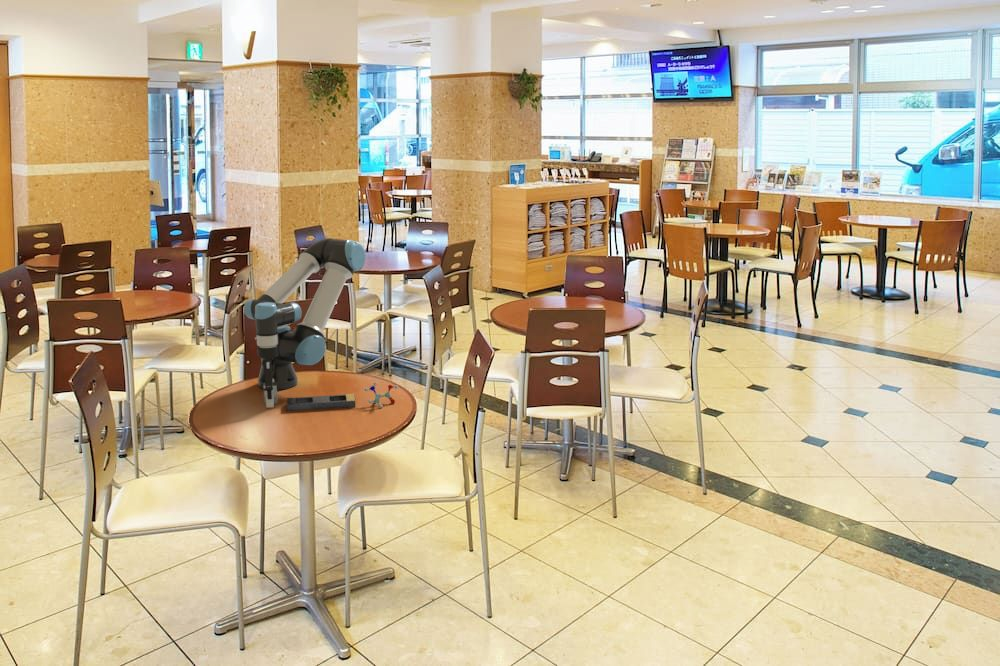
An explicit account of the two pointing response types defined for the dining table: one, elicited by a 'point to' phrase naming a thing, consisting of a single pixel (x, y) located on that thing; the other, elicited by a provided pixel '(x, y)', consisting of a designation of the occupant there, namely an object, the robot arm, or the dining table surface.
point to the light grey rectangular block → (273, 393)
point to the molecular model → (381, 394)
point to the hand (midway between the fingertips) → (270, 401)
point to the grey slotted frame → (320, 402)
